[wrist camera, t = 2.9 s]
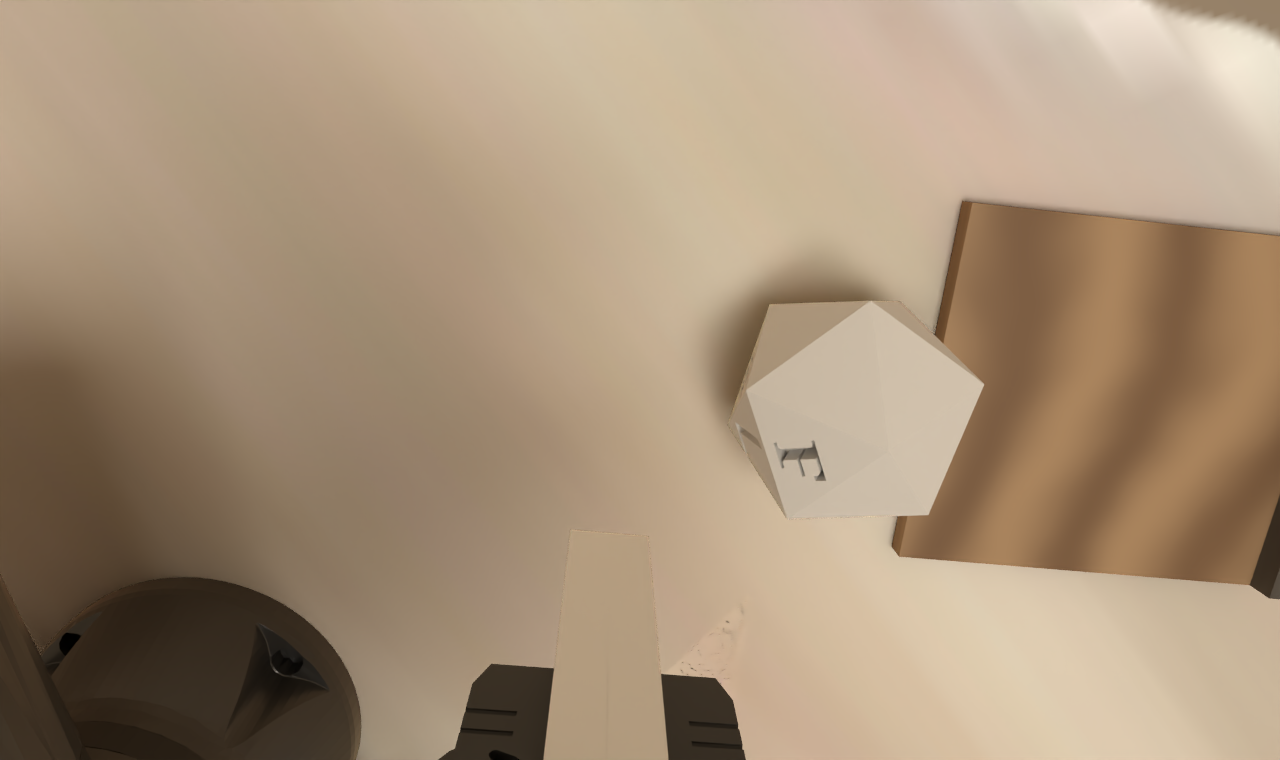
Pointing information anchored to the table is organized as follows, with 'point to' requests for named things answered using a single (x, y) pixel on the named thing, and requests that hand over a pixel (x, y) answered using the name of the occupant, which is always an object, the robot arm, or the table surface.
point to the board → (1112, 399)
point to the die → (852, 409)
